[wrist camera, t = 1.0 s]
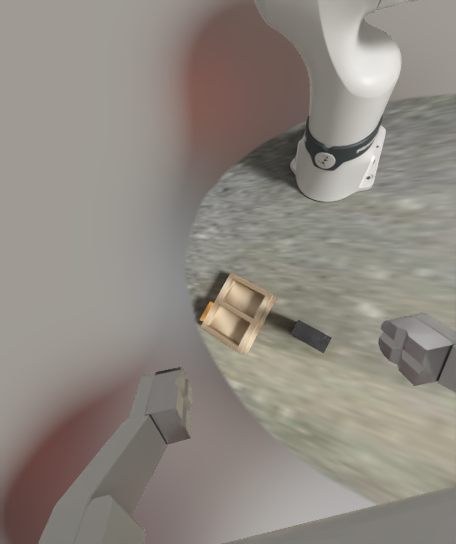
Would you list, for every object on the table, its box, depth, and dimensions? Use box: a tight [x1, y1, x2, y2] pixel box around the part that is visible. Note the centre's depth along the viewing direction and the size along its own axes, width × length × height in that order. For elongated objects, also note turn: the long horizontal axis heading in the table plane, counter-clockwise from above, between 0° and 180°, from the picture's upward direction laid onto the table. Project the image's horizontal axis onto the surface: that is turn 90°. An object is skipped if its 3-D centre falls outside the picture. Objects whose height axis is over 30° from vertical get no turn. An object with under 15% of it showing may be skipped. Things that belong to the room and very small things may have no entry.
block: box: [291, 320, 331, 353], centre depth 37 cm, size 2×5×12 cm, turn 61°
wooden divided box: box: [200, 273, 277, 354], centre depth 45 cm, size 14×12×5 cm
